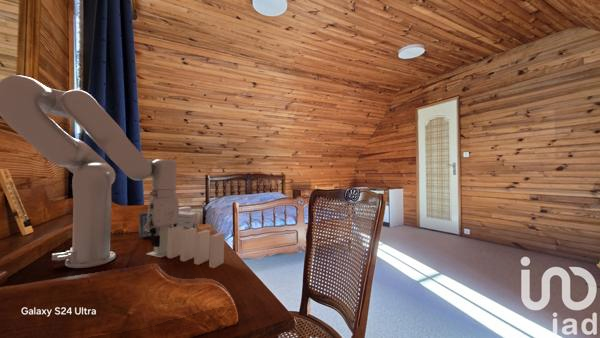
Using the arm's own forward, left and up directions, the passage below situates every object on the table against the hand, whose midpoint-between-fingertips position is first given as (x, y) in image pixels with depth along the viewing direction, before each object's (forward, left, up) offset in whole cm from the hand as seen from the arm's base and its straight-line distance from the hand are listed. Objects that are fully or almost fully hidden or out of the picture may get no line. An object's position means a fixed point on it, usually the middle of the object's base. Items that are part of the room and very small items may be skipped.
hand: (162, 243), depth 93 cm
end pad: (0, 0, -3) cm, 3 cm away
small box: (+4, +26, -4) cm, 26 cm away
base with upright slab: (+14, +21, -4) cm, 25 cm away
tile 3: (+5, -11, -3) cm, 13 cm away
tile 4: (+3, -6, -3) cm, 7 cm away
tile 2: (+8, -16, -3) cm, 18 cm away
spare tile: (0, 0, -3) cm, 3 cm away
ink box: (+12, +10, -4) cm, 16 cm away
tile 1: (+10, -22, -3) cm, 24 cm away
